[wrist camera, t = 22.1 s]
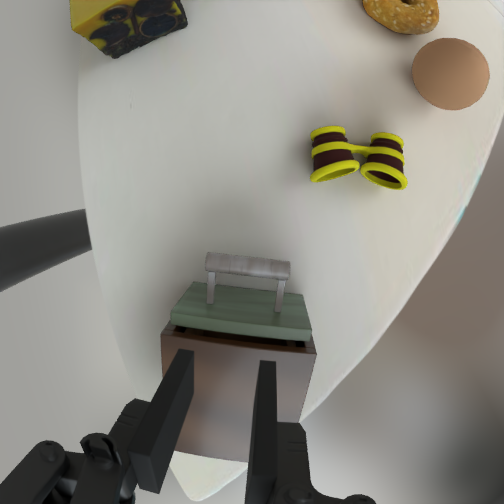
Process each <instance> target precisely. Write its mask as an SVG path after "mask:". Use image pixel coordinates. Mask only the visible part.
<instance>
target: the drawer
mask: <svg viewBox="0 0 504 504" xmlns="http://www.w3.org/2000/svg"><path fill="white" fill-rule="evenodd" d="M205 269H206V271H209V272H208V284H206V283H198V282H193V283H192V284H191V286H190V287H189V288H188V290H187V291H186V292H185V294H184V295H183V296H182V298H181V299H180V300H179V302H178V303H177V304H176V306H175V307H174V308H173V310H172V311H171V324H172V325H178V326H184V327H187V329H186V330H185V332H184V333H187V334H193V335H199V336H206V337H213V338H220V339H227V340H234V341H242V342H251V343H260V344H269V345H279V346H290V347H296V344H295V341H307V342H309V341H310V338H311V333H312V328H311V324H310V320H309V317H308V313H307V309H306V306H305V302H304V298H303V295H300V294H291V293H284V288H285V280H288V279H289V274H290V262H289V261H281V260H272V259H263V258H255V257H246V256H237V255H229V254H220V253H211V252H208V253H207V256H206V262H205ZM216 272H220V273H228V274H237V275H245V276H254V277H262V278H271V279H278V284H277V291H276V292H272V291H263V290H255V289H246V288H238V287H230V286H222V285H215V279H216Z"/></svg>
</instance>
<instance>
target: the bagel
mask: <svg viewBox="0 0 504 504" xmlns="http://www.w3.org/2000/svg"><path fill="white" fill-rule="evenodd" d="M362 1H363V7H364V8H365V10H366V12H367V14H368V15H369V16H371V17H372V18H373V19H374V20H376V21H377V22H379V23H380V24H382V25H384V26H385V27H387V28H388V29H391V30H392V31H395V32H399V33H404V34H425V33H428V32H430V31H432V30H433V29H434V28H435V27H436V25H437V24H438V22H439V9H438V3H437V0H362Z"/></svg>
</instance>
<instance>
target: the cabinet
mask: <svg viewBox="0 0 504 504" xmlns="http://www.w3.org/2000/svg"><path fill="white" fill-rule="evenodd" d="M186 329H187V327H184V326H178V325H172V324H171V320H170V321H169V323H168V324H167V325H166V327H165V328H164V330H163V331H162V333H161V357H162V374H163V378H164V376H165V374H166V372H167V370H168V368H169V366H170V364H171V362H172V360H173V359H174V357H175V355H176V353H177V351H178V349H179V348H180V349H186V350H192V351H194V395H193V398H192V401H191V403H190V406H189V409H188V412H187V415H186V418H185V421H184V423H183V426H182V429H181V432H180V435H179V438H178V441H177V444H176V446H175V449H174V451H179V452H184V453H188V454H194V455H199V456H205V457H211V458H217V459H224V460H231V461H239V462H249V451H250V440H251V428H252V417H253V405H254V397H255V390H256V384H257V377H258V370H259V364H260V360H266V361H276V373H277V422H292V423H298V422H299V418H300V415H301V411H302V408H303V405H304V401H305V397H306V394H307V390H308V387H309V383H310V379H311V375H312V371H313V367H314V363H315V359H316V355H317V353H316V349H315V345H314V341H313V337H312V333H311V338H310V341H309V342H307V341H295V344H296V347H290V346H279V345H269V344H260V343H251V342H242V341H234V340H227V339H220V338H213V337H206V336H199V335H193V334H187V333H184V332H185V330H186Z"/></svg>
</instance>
